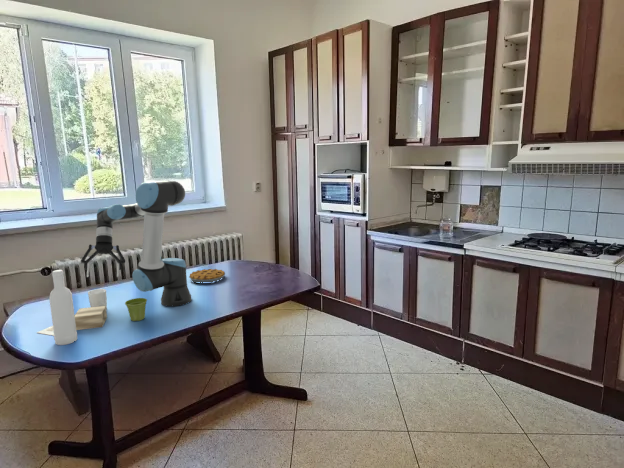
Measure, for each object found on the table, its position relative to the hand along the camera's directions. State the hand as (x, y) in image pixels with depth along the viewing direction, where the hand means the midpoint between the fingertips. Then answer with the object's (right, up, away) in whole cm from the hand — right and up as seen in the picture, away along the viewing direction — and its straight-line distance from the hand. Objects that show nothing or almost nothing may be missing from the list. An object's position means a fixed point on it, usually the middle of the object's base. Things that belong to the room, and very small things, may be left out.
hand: (103, 276), depth 199 cm
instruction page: (-6, -21, -27) cm, 35 cm away
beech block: (+6, -19, -20) cm, 29 cm away
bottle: (+5, -23, -37) cm, 44 cm away
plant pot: (+24, -19, -15) cm, 34 cm away
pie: (+41, -7, +46) cm, 62 cm away
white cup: (0, -17, -4) cm, 17 cm away
